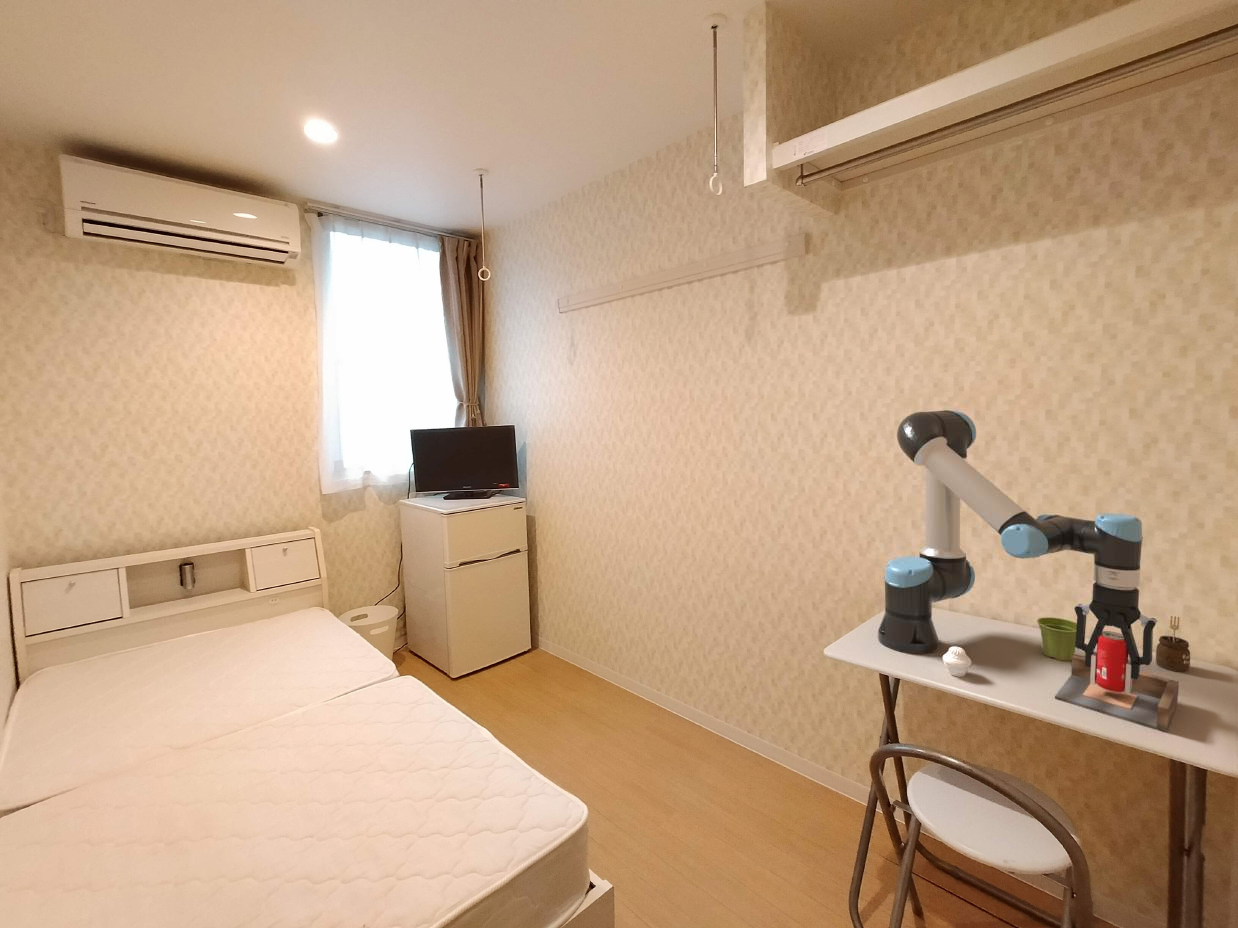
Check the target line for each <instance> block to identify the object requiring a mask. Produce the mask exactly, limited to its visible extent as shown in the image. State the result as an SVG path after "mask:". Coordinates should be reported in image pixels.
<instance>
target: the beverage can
mask: <svg viewBox="0 0 1238 928" xmlns="http://www.w3.org/2000/svg"><path fill="white" fill-rule="evenodd" d="M1096 652H1097V660H1096V681H1097V683H1098V686H1099V687H1101V688H1103V689H1105V690H1109V691H1113V692H1123V691H1124V689H1125V680H1126V664H1127V662H1128V660H1129V654H1128V650H1127V647H1126V643H1125V640H1124V637H1123V634H1122V633H1119V632H1115V631H1108V630H1103V631H1102V633H1101V634H1100V636H1099V637H1098V641H1097V645H1096Z"/></svg>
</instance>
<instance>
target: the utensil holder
mask: <svg viewBox="0 0 1238 928" xmlns="http://www.w3.org/2000/svg"><path fill="white" fill-rule="evenodd" d="M1176 623H1177V624H1176ZM1167 629H1168V632H1170V631H1171V630H1173V632H1172V634H1173V635H1161V636H1159V639H1158V644H1157V645H1156V650H1155V651H1156V652H1155V662H1156V665H1157V666H1159V667H1160V668H1163V669H1165V670H1169V671H1172V672H1178V673H1180V672H1181V673H1186V672H1187V671H1189V669H1190V666H1191V652H1190V649H1189V647H1190V643H1189V641H1187V640H1185V639H1183V638H1181V637H1180V634H1181V630H1180V617H1179V616H1174V617H1173V616H1172V615H1170V624H1169V626H1168V627H1167ZM1176 631H1177V636H1176Z"/></svg>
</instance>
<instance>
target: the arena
mask: <svg viewBox="0 0 1238 928" xmlns="http://www.w3.org/2000/svg"><path fill="white" fill-rule="evenodd" d="M1090 676H1091V668H1090V667H1087V666H1086V665H1085V657H1081V656H1079V655H1075V654H1074V656H1073V657H1072V659H1071V674H1070V676H1069V677H1068V679H1066V681H1065V683H1064V684H1063V685H1062V686H1061V687H1060V689H1059V690H1058V692H1057V693H1056V694H1055V696H1054V699H1056V700H1059V701H1061V702H1064V703H1069V704H1071V705H1075V706H1078V707H1081V708H1084V709H1085V708H1086V709H1088V710H1091V711H1095V712H1098V713H1100V714H1101V713H1102V714H1105V715H1108V716H1111V717H1114V718H1117V719H1121V720H1122V721H1123V720H1124V721H1127V722H1131V723H1133V724H1137V725H1140V726H1144V727H1146V726H1147V727H1146V728H1149V729H1153V730H1156V729H1158V730H1157V731H1159V730H1160V731H1159V732H1163V733H1166V734H1167V733H1168V730H1169V727H1170V725H1171V722H1172V719H1173V716H1174V714H1175V712H1176V709H1177V707H1178V701H1179V700H1178V699H1179V685H1180V681H1178V680H1177V681H1176V680H1174V679H1169V678H1164V677H1161V676H1157V675H1155V674H1154V675H1153V674H1148V673H1145V672H1141V671H1140V673H1139V677H1138V679H1133V678H1132V690H1131V692H1130V694H1128V693H1125V689H1124V691H1123V692H1113V691H1109V690H1105V689H1103V688H1101V687H1099V686H1098V683H1097V681H1096V683H1095V684H1092V683H1090Z"/></svg>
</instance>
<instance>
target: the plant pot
mask: <svg viewBox="0 0 1238 928" xmlns="http://www.w3.org/2000/svg"><path fill="white" fill-rule="evenodd" d="M1036 622H1037V625H1038V627H1039V629H1040V635H1041V641H1042V643H1041V644H1042V649H1043V654H1044V655H1046V656H1047V657H1048V658H1054V659H1055V660H1058V661H1065V662H1066V661H1072V657H1073V656H1074V655H1075V653H1076V649H1077V648H1076V647H1075V641H1076V627H1077V621H1072V620H1069V619H1065V618H1060V617H1052V616H1051V617H1050V616H1049V617H1048V616H1047V617H1046V616H1044V617H1040V618H1038V619H1037V620H1036Z"/></svg>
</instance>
